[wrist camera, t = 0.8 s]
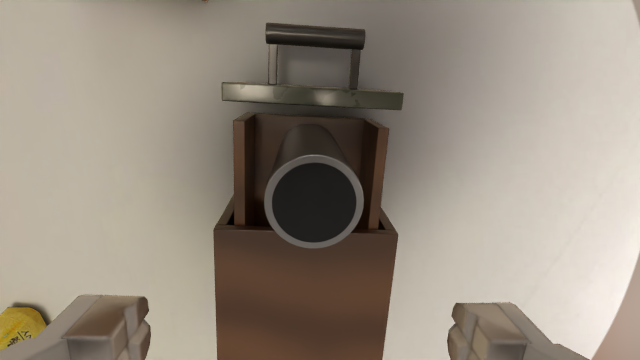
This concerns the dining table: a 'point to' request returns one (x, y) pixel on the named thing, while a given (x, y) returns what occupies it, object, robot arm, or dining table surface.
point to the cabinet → (301, 293)
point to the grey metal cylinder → (312, 190)
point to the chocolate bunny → (19, 325)
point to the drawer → (269, 129)
